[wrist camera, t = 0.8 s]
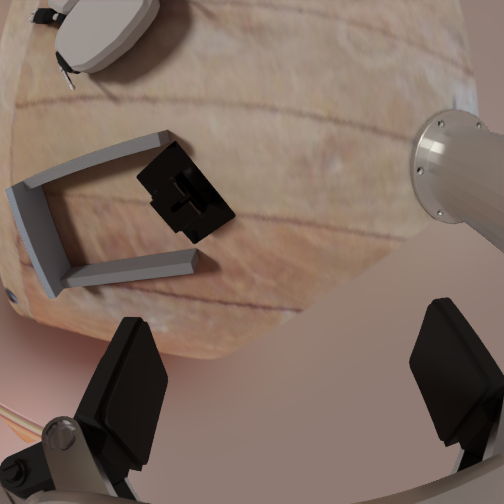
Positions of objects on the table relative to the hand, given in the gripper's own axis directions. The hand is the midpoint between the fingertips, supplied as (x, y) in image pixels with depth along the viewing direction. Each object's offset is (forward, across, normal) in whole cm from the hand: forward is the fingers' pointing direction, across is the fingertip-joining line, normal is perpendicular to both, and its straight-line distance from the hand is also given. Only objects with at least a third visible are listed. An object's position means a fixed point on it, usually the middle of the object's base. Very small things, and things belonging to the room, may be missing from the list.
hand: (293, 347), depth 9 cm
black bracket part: (+22, +8, +1) cm, 23 cm away
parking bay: (+21, +17, +2) cm, 27 cm away
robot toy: (+21, +16, -21) cm, 33 cm away
